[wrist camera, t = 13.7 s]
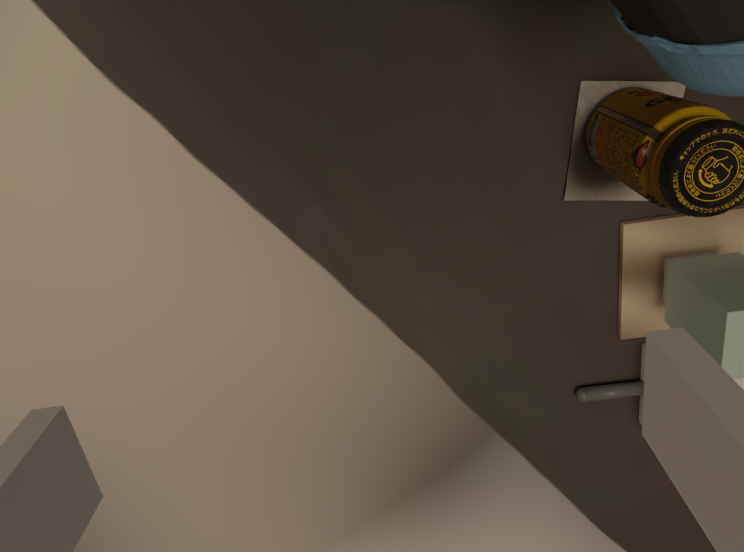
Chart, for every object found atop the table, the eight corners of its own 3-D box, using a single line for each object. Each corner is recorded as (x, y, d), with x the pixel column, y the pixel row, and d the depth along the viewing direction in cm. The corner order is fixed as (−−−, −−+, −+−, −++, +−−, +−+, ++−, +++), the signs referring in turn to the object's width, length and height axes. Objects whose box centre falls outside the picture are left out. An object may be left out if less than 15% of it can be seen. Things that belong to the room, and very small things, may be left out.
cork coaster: (620, 221, 45) (623, 224, 45) (756, 203, 44) (761, 205, 44) (617, 336, 49) (620, 339, 49) (742, 320, 49) (746, 323, 48)
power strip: (574, 428, 53) (590, 462, 49) (573, 351, 50) (590, 381, 46) (874, 393, 51) (915, 424, 48) (893, 311, 48) (939, 338, 44)
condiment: (685, 81, 41) (800, 107, 30) (660, 200, 44) (754, 263, 34) (579, 80, 41) (655, 106, 30) (562, 199, 44) (624, 261, 33)
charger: (655, 251, 45) (728, 313, 36) (723, 242, 45) (814, 302, 36) (653, 308, 47) (721, 382, 38) (717, 300, 47) (802, 372, 38)
